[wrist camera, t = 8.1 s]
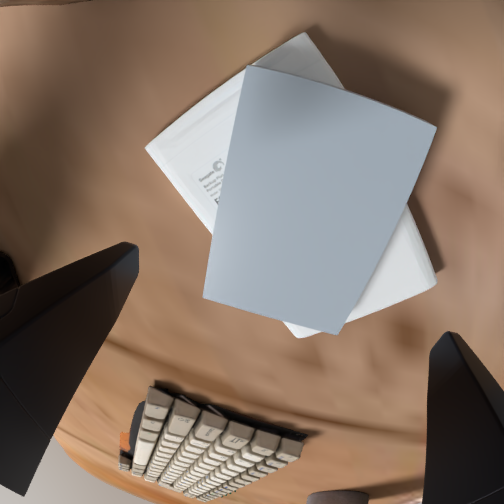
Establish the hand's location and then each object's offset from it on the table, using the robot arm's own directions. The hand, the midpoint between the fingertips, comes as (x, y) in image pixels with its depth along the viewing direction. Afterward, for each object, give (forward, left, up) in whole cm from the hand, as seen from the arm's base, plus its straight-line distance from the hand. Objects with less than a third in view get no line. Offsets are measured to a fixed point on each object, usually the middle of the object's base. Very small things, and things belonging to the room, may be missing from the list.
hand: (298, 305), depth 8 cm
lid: (0, 0, -6) cm, 6 cm away
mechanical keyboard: (-4, -38, -7) cm, 39 cm away
